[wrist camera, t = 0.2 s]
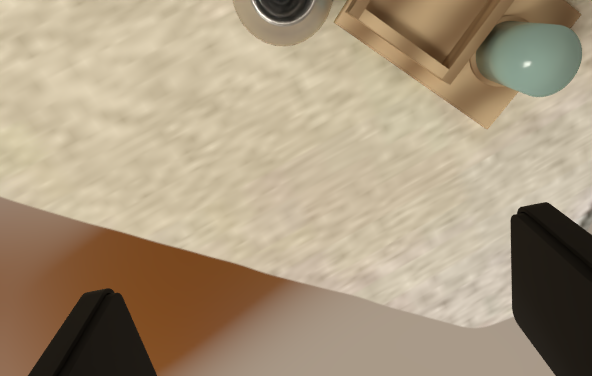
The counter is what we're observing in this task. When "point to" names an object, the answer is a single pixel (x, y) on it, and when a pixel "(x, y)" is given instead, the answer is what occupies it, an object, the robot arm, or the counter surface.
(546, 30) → the sage pillar candle
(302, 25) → the plastic bottle
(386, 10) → the oak caddy
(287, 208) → the counter surface
